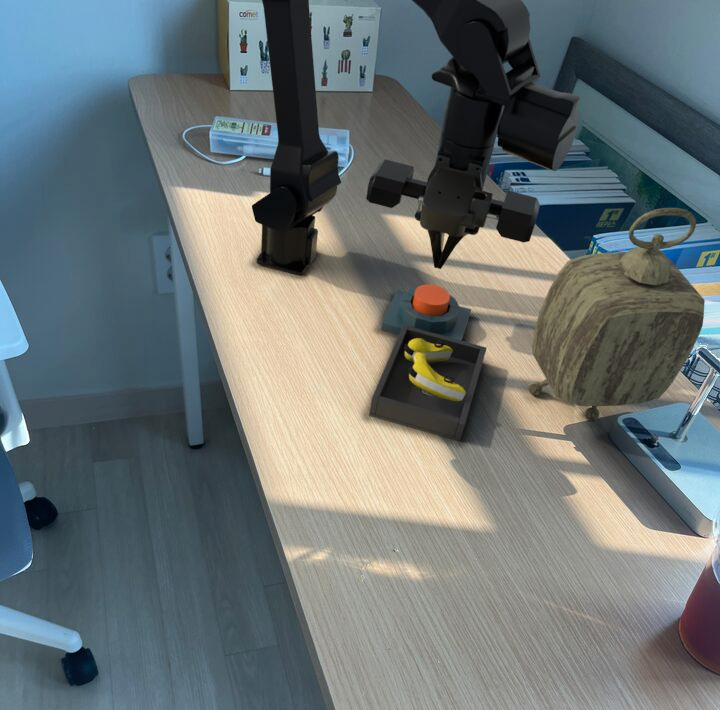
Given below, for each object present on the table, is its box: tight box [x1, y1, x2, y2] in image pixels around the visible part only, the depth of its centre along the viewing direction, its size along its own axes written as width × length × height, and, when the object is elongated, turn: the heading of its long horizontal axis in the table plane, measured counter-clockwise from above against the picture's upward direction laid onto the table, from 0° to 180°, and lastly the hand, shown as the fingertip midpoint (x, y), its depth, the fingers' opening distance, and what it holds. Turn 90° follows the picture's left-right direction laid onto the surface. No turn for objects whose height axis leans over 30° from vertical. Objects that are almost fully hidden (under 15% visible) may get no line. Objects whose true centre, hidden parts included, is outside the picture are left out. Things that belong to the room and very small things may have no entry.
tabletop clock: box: [528, 207, 706, 422], centre depth 80 cm, size 14×9×25 cm, turn 102°
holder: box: [368, 325, 488, 443], centre depth 87 cm, size 10×14×3 cm
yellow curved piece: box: [404, 338, 466, 401], centre depth 86 cm, size 10×6×4 cm, turn 2°
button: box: [413, 284, 451, 316], centre depth 94 cm, size 4×4×2 cm
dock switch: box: [380, 286, 472, 341], centre depth 95 cm, size 10×8×3 cm
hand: (438, 266), depth 90 cm, fingers closed
